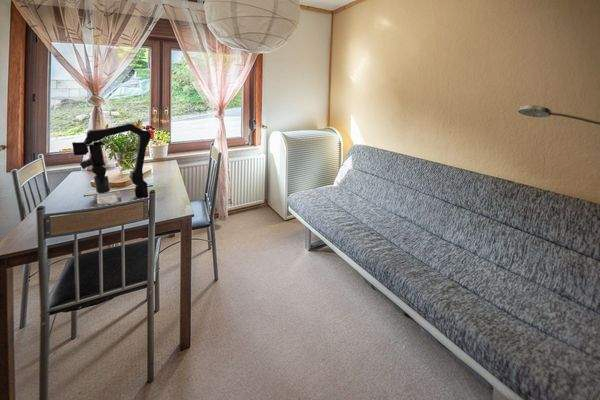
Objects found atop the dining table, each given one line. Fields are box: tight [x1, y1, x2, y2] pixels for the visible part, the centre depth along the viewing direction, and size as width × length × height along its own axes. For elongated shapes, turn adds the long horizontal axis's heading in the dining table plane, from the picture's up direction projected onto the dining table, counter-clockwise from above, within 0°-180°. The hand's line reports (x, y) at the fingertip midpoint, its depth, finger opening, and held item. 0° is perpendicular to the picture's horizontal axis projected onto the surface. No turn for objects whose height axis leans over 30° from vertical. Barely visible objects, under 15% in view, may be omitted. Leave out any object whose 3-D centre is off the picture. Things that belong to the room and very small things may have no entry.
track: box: [93, 190, 123, 207], centre depth 191 cm, size 13×14×4 cm
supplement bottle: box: [93, 173, 111, 194], centre depth 188 cm, size 7×7×12 cm
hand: (101, 181), depth 188 cm, fingers closed on supplement bottle, 7 cm apart
